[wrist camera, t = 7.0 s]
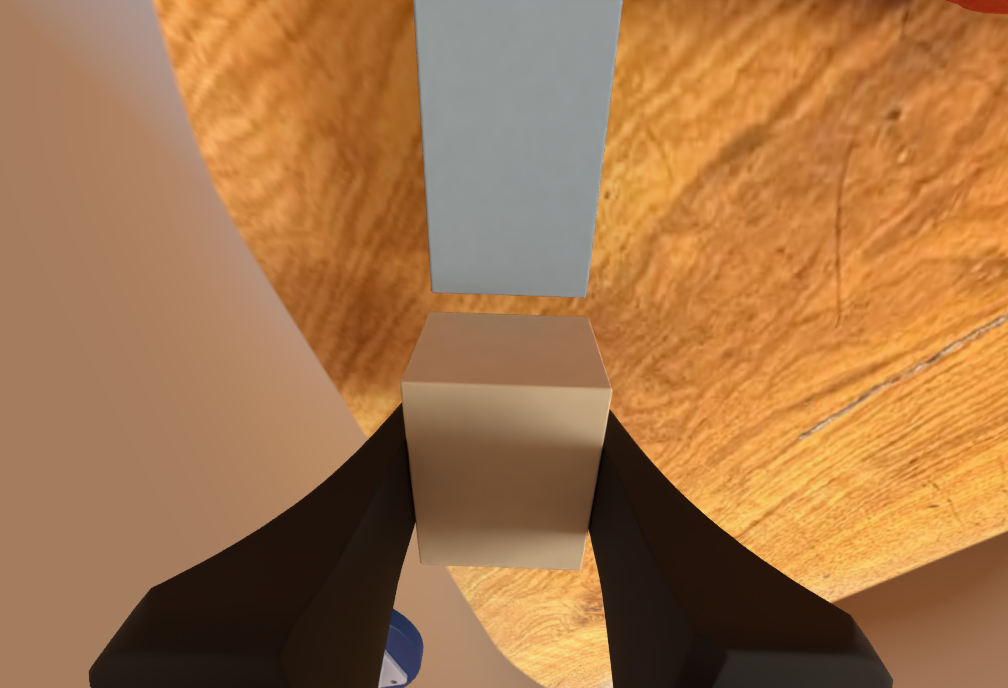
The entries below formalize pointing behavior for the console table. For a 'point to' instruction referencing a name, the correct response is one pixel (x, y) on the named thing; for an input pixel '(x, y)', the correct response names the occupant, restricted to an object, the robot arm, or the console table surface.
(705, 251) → the console table surface
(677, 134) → the console table surface
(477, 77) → the long grey beam
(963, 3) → the pomegranate
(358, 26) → the console table surface
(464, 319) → the beige rectangular block
